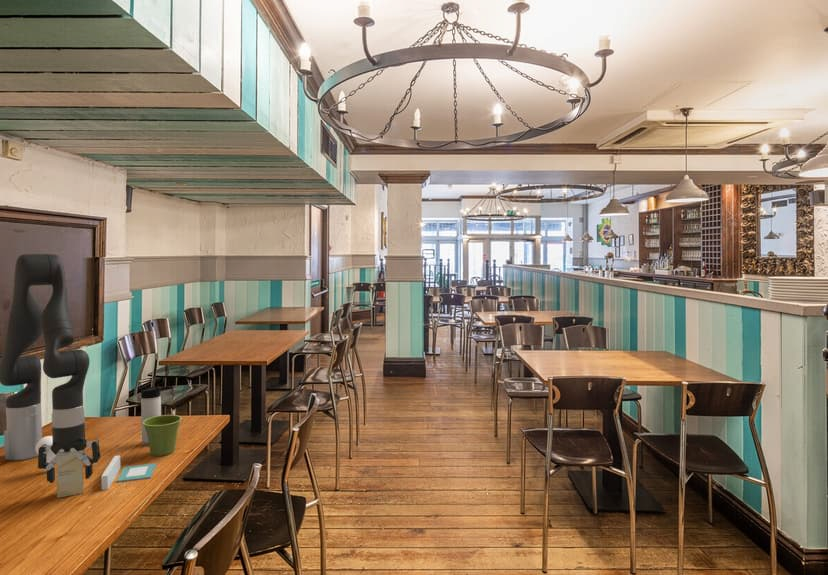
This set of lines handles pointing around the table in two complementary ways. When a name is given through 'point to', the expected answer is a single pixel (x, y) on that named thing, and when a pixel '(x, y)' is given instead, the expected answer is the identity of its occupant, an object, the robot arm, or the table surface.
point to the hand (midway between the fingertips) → (70, 479)
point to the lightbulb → (47, 441)
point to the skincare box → (69, 474)
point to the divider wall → (110, 472)
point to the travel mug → (149, 407)
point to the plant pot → (162, 433)
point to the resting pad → (137, 472)
